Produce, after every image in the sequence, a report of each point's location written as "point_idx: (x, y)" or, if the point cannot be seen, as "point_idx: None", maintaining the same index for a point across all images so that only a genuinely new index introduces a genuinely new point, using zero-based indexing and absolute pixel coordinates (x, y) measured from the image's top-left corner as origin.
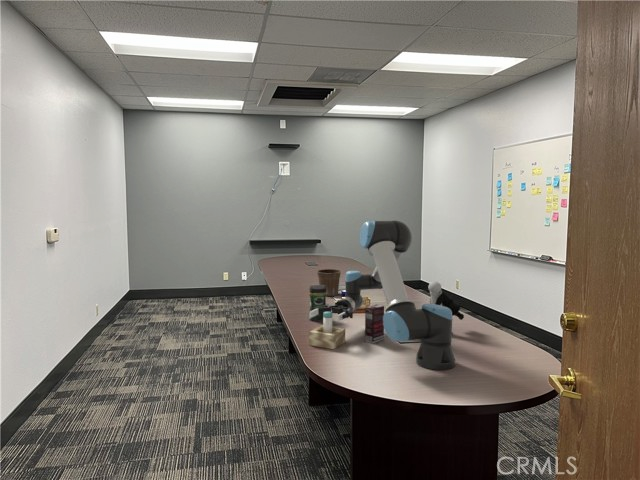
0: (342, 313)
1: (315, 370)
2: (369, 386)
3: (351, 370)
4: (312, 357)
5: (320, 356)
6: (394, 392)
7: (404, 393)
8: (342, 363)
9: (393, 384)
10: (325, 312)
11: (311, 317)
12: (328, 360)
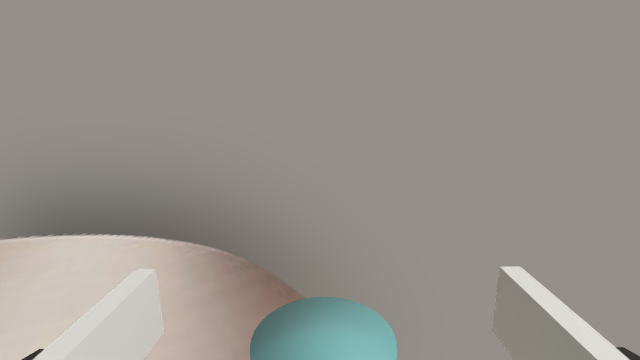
0: (62, 337)
1: (244, 263)
2: (90, 251)
3: None
4: None
5: None
6: (31, 249)
7: (4, 252)
8: None
9: (7, 270)
10: (359, 330)
11: (493, 329)
12: (220, 323)
